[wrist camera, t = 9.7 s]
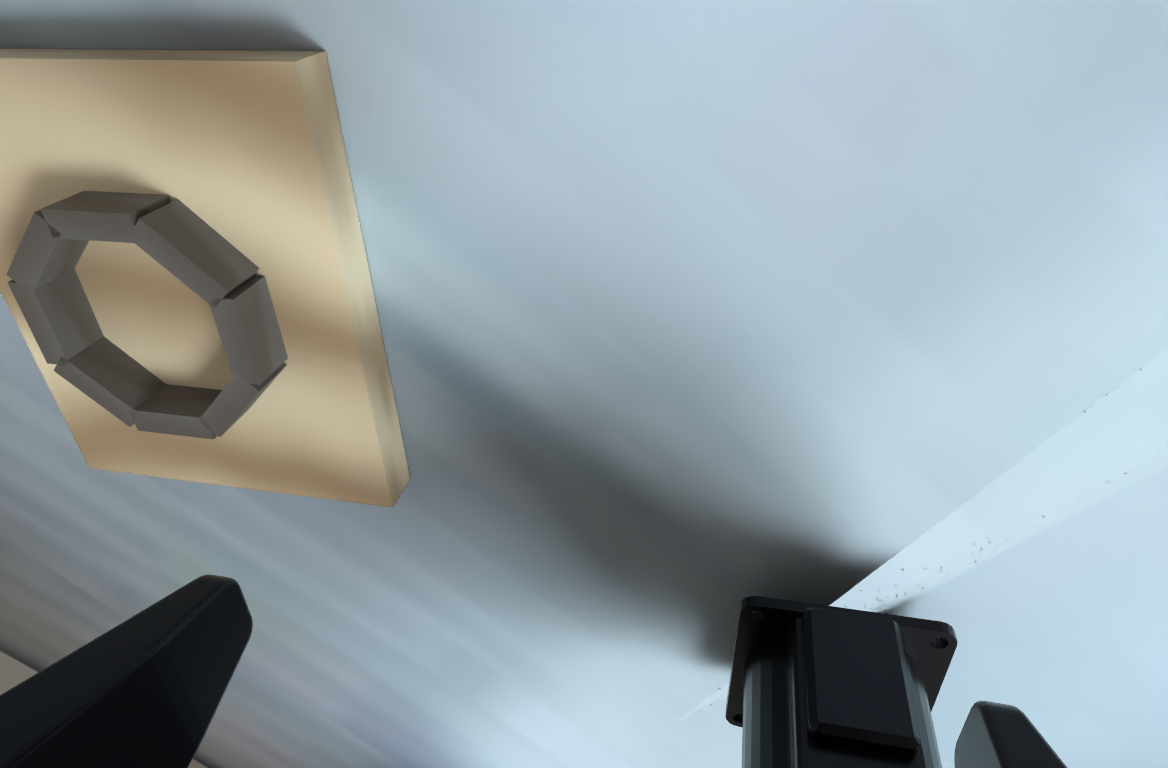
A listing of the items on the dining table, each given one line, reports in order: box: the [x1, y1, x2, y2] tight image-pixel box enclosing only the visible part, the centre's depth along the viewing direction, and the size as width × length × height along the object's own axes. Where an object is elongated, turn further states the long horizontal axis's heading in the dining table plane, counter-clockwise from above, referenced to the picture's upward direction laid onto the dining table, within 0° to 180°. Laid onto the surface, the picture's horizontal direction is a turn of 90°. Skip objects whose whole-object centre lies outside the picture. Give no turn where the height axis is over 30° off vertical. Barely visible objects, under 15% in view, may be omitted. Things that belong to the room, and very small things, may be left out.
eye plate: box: [0, 49, 410, 507], centre depth 22 cm, size 14×12×3 cm
